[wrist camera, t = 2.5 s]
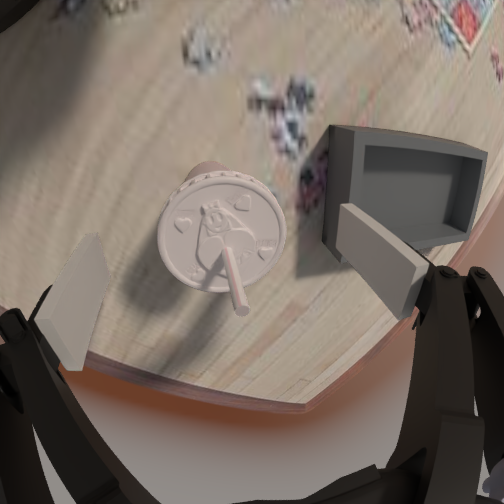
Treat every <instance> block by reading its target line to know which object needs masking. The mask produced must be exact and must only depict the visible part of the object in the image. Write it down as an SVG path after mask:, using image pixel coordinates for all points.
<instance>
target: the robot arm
mask: <svg viewBox="0 0 504 504" xmlns="http://www.w3.org/2000/svg"><path fill="white" fill-rule="evenodd" d="M38 1H39V0H0V32H2V31H4V30H5V29H7V28H8V27H9V26H11V25H12V24H13V23H15V22H16V21H17V20H18V19H20V18H21V17H22V16H23V15H24V14H25V13H26V12H28V11H29V10H30V9H31V8H32V7H33V6H34V5H35V4H36V3H37V2H38ZM336 248H337V250H338V251H339V252H340V253H341V254H342V255H343V256H344V257H345V258H346V260H347V261H348V262H349V263H350V264H351V265H352V266H353V267H354V269H355V270H356V271H357V272H358V273H359V274H360V275H361V277H362V278H363V279H364V280H365V281H366V282H367V283H368V285H369V286H370V287H371V288H372V289H373V290H374V292H375V293H376V294H377V295H378V296H379V298H380V299H381V300H382V301H383V302H384V304H385V305H386V306H387V307H388V308H389V310H390V311H391V312H392V313H393V315H394V316H395V317H396V318H397V319H398V320H401V319H404V318H407V317H410V316H411V314H412V312H413V309H414V307H415V306H416V307H417V308H418V309H419V313H418V315H417V318H416V320H415V322H414V325H413V327H412V330H414V328H415V327H416V338H415V349H414V358H413V366H412V374H411V380H410V387H409V393H408V398H407V403H406V408H405V413H404V418H403V422H402V427H401V431H400V435H399V439H398V443H397V446H396V448H395V451H394V452H393V454H392V456H391V457H390V459H389V461H388V463H387V465H386V468H384V469H377V468H376V465H375V464H373V465H371V466H369V467H366V468H364V469H361V470H359V471H357V472H354V473H352V474H349V475H346V476H344V477H341V478H339V479H338V480H336V481H334V482H333V483H331V484H329V485H328V486H326V487H324V488H323V489H321V490H319V491H317V492H316V493H314V494H312V495H310V496H308V497H306V498H304V499H300V500H254V501H248V502H240V503H233V504H504V296H503V294H502V292H501V291H500V289H499V288H498V286H497V284H496V283H495V281H494V280H493V278H492V277H491V275H490V274H489V273H488V272H487V271H486V270H485V269H483V268H481V267H471V268H470V270H469V273H468V276H460V275H459V274H458V273H457V272H456V271H455V270H454V269H452V268H450V267H448V266H443V265H441V266H437V267H436V266H435V265H434V264H432V263H431V262H430V261H429V260H428V259H427V258H425V257H424V256H423V255H422V254H420V253H419V252H418V251H417V250H415V249H414V248H413V247H412V246H411V245H410V244H408V243H406V242H404V241H402V240H400V239H399V238H398V237H396V236H395V235H394V234H393V233H391V232H390V231H389V230H387V229H386V228H385V227H384V226H382V225H381V224H380V223H378V222H377V221H376V220H374V219H373V218H372V217H370V216H369V215H367V214H366V213H365V212H363V211H362V210H361V209H359V208H358V207H356V206H355V205H354V204H352V203H348V204H340V213H339V222H338V231H337V240H336ZM110 279H111V275H110V272H109V269H108V266H107V262H106V259H105V256H104V253H103V249H102V246H101V243H100V239H99V236H98V232H97V233H92V234H86V235H85V236H84V237H83V239H82V240H81V242H80V243H79V244H78V246H77V247H76V249H75V250H74V252H73V253H72V255H71V256H70V258H69V260H68V261H67V263H66V264H65V266H64V267H63V269H62V271H61V272H60V274H59V276H58V277H57V279H56V281H55V282H54V284H53V285H50V286H49V287H48V288H47V289H46V290H45V291H44V292H43V294H42V296H41V297H40V299H39V301H38V303H37V305H36V307H35V308H34V310H33V312H32V314H31V316H30V318H29V320H28V321H26V319H25V317H24V315H23V314H22V312H21V310H20V309H18V308H13V309H10V310H8V311H6V312H5V313H3V314H2V315H1V316H0V335H1V337H2V338H3V340H4V341H5V344H2V345H0V504H55V503H54V501H53V498H52V496H51V493H50V490H49V487H48V484H47V481H46V478H45V476H44V472H43V469H42V465H41V461H40V457H39V454H38V450H37V445H36V441H35V437H34V432H33V427H34V429H35V431H36V433H37V436H38V438H39V440H40V442H41V444H42V446H43V448H44V450H45V452H46V454H47V456H48V458H49V460H50V461H51V463H52V465H53V467H54V469H55V470H56V472H57V474H58V476H59V477H60V479H61V481H62V482H63V484H64V485H65V487H66V489H67V490H68V492H69V493H70V495H71V496H72V498H73V499H74V501H75V502H76V504H161V503H160V502H159V501H157V500H156V499H155V498H154V497H153V496H152V495H151V494H150V493H149V492H148V491H147V490H146V489H145V488H144V487H143V486H142V485H141V484H140V483H139V482H138V481H137V479H136V478H135V477H134V476H133V475H132V474H131V473H130V472H129V470H128V469H127V468H126V467H125V466H124V465H123V464H122V462H121V461H120V460H119V459H118V458H117V456H116V455H115V454H114V453H113V451H112V450H111V449H110V448H109V446H108V445H107V444H106V442H105V441H104V440H103V438H102V437H101V436H100V434H99V433H98V432H97V430H96V429H95V427H94V426H93V425H92V423H91V422H90V420H89V418H88V417H87V415H86V414H85V412H84V411H83V409H82V408H81V406H80V405H79V403H78V401H77V400H76V398H75V396H74V395H73V393H72V391H71V390H70V388H69V386H68V384H67V383H66V381H65V379H64V377H63V375H62V374H61V372H60V371H59V370H58V366H59V363H60V362H61V363H62V364H63V366H64V367H65V369H66V370H67V371H82V369H83V365H84V361H85V357H86V353H87V349H88V346H89V342H90V339H91V335H92V332H93V329H94V325H95V322H96V319H97V316H98V313H99V310H100V307H101V304H102V301H103V298H104V295H105V292H106V289H107V287H108V284H109V281H110ZM479 307H480V309H481V314H480V316H479V318H477V315H476V313H477V311H478V309H479ZM474 396H475V401H476V405H477V411H478V416H475V414H474ZM32 424H33V426H32ZM483 450H484V457H485V461H486V465H487V469H488V472H489V475H490V477H488V478H487V479H486V480H485V481H484V483H483V486H482V489H483V491H484V492H485V493H489V497H484V496H481V495H477V489H478V483H479V478H480V472H481V464H482V456H483Z"/></svg>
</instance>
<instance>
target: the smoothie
mask: <svg viewBox="0 0 504 504" xmlns="http://www.w3.org/2000/svg"><path fill="white" fill-rule="evenodd" d="M285 241H286V222H285V218H284V214H283V212H282V209H281V207H280V206H279V204H278V202H277V200H276V198H275V197H274V196H273V194H272V193H271V192H270V191H269V189H268V188H267V187H266V186H265V185H263V184H262V183H261V182H259V181H258V180H256V179H255V178H253V177H251V176H248V175H245V174H242V173H239V172H236V171H232V170H230V169H229V168H227V167H226V166H224V165H223V164H221V163H218V162H214V161H208V162H203V163H201V164H199V165H197V166H196V167H194V168H193V169H192V171H191V172H190V173H189V175H188V177H187V178H186V180H185V182H184V183H183V184H182V185H180V186H179V187H178V188H177V189H176V190H175V191H174V192H173V193H172V194H171V195H170V196H169V198H168V200H167V201H166V203H165V205H164V206H163V208H162V210H161V214H160V218H159V221H158V233H157V242H158V249H159V253H160V256H161V258H162V260H163V262H164V264H165V266H166V267H167V269H168V270H169V271H170V272H171V273H172V275H173V276H175V277H176V278H177V279H178V280H179V281H181V282H182V283H184V284H186V285H188V286H190V287H192V288H194V289H197V290H201V291H205V292H213V293H222V292H230V294H231V298H232V303H233V307H234V311H235V314H236V315H237V316H239V317H243V316H246V315H248V314H249V312H250V308H249V304H248V301H247V298H246V294H245V291H244V288H245V287H247V286H249V285H251V284H253V283H255V282H257V281H258V280H260V279H261V278H262V277H264V276H265V275H266V274H267V273H268V272H269V271H270V270H271V269H272V268H273V267H274V265H275V264H276V262H277V261H278V259H279V258H280V256H281V253H282V251H283V248H284V245H285Z"/></svg>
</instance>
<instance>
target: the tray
mask: <svg viewBox="0 0 504 504" xmlns="http://www.w3.org/2000/svg"><path fill="white" fill-rule="evenodd" d="M487 155H488V152H485V151H483V150H480V149H478V148H475V147H473V146H470V145H467V144H464V143H461V142H456V141H452V140H447V139H442V138H437V137H432V136H426V135H421V134H415V133H408V132H401V131H394V130H386V129H378V128H368V127H357V126H343V125H330V126H329V154H328V173H327V188H326V202H325V214H324V225H323V235H322V242H323V243H324V244H325V245H326V247H327V248H328V249H329V250H330V251H331V253H332V254H333V255H334V256H335V257H336V259H337V260H338V261H339V262H340V263H346V262H348V261H347V260H346V258H345V257H344V256H343V255H342V254H341V253H340V252H339V251H338V250H337V248H336V240H337V231H338V222H339V213H340V204H348V203H352V204H354V205H355V206H356V207H358V208H359V209H361V210H362V211H363V212H365V213H366V214H367V215H369V216H370V217H372V218H373V219H374V220H376V221H377V222H378V223H380V224H381V225H382V226H384V227H385V228H386V229H387V230H389V231H390V232H391V233H393V234H394V235H395V236H396V237H398V238H399V239H400V240H402V241H404V242H406V243H408V244H410V245H411V246H412V247H413V248H414V249H415V250H420V249H425V248H430V247H435V246H441V245H446V244H451V243H456V242H461V241H466V240H468V239H469V236H470V232H471V229H472V226H473V222H474V218H475V215H476V211H477V207H478V203H479V198H480V194H481V189H482V184H483V179H484V174H485V168H486V162H487Z"/></svg>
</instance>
